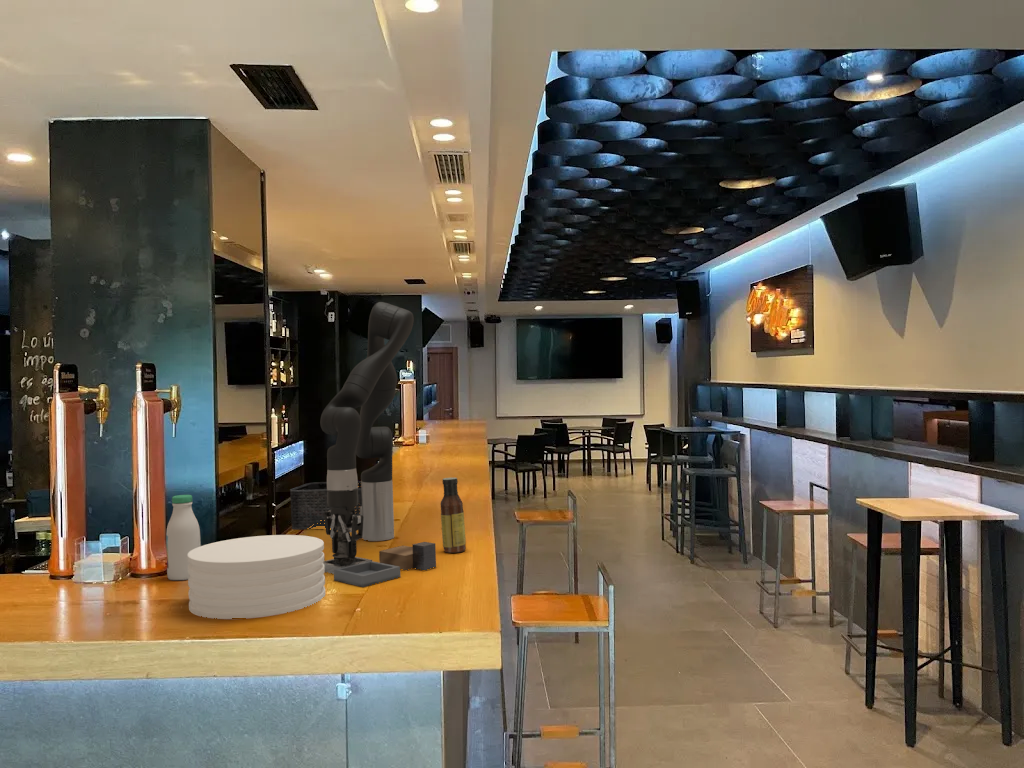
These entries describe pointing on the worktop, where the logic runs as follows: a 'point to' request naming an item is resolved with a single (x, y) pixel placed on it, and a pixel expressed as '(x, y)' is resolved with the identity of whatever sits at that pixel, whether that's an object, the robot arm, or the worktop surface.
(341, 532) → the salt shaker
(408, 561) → the brown rectangular block
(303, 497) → the storage bin
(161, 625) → the worktop surface
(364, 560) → the holder
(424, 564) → the block
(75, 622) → the worktop surface
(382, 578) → the tray
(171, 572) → the milk bottle
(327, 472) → the robot arm
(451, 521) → the sauce bottle
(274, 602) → the plate stack
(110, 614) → the worktop surface
